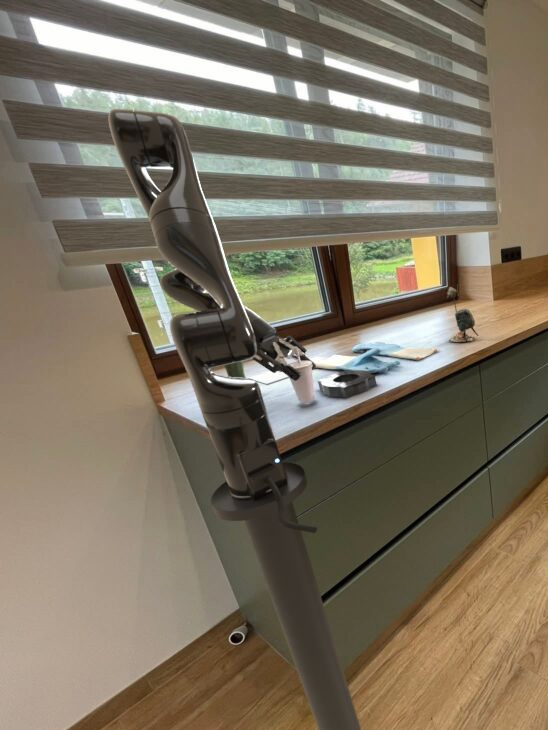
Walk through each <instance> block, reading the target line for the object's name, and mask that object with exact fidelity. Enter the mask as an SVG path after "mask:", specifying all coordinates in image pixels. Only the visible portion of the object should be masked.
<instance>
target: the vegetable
mask: <svg viewBox="0 0 548 730" xmlns="http://www.w3.org/2000/svg"><path fill="white" fill-rule="evenodd" d="M223 366H224V368H225V371H226V375H227V376H228V377H237V378H247V377H246V375H245V370H244V361H242V362H237V363H232V364H227V365H223Z"/></svg>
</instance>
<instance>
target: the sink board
mask: <svg viewBox="0 0 548 730" xmlns="http://www.w3.org/2000/svg"><path fill="white" fill-rule="evenodd" d="M376 378H377V377H376V375H374V374H372V373H370V372H368V371H364V370H349V369H348V370H343V371H340V372H336V373H333V374H331V375H328V376H325V377H324V378H321V379H318V380H317V385H318V389H319V391H320V392H322V393H323V394H324V396H326V397H329V398H344V399H348V398H350V397H352V396H355V395H359V394H361V393H364V392H366V391H368V390H370V389H372V388H375V387H377V385H378V384H377V380H376Z"/></svg>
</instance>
